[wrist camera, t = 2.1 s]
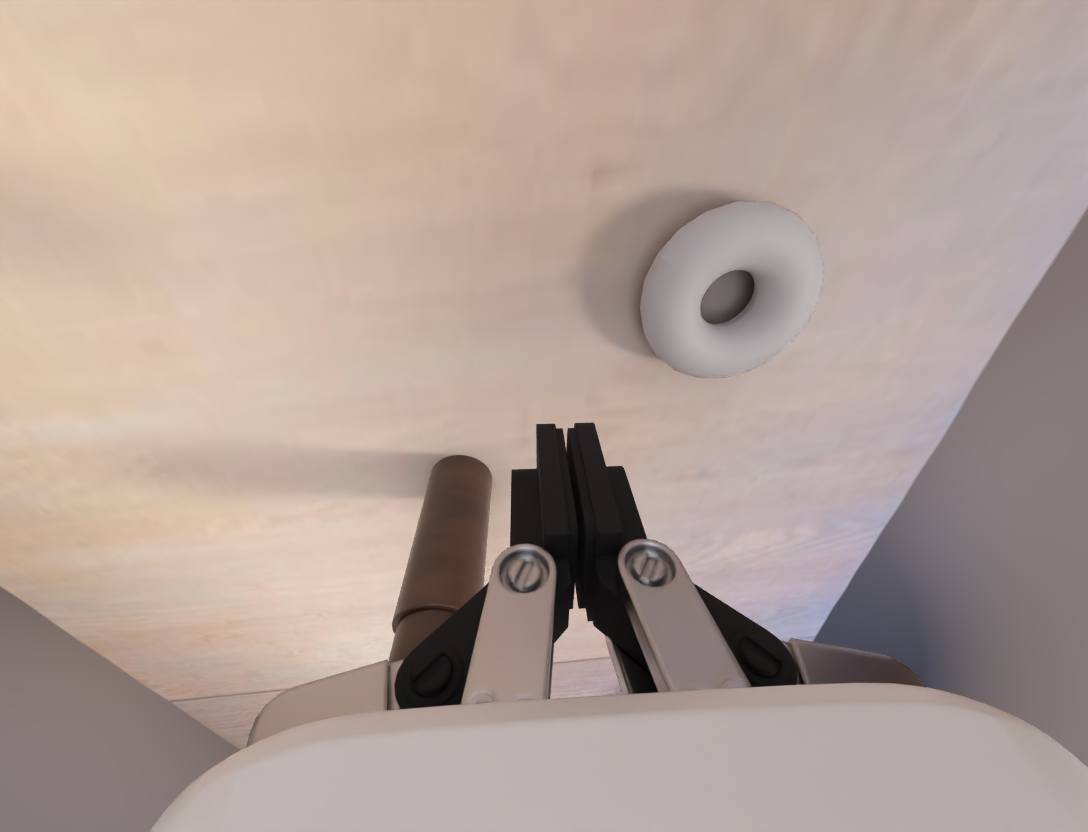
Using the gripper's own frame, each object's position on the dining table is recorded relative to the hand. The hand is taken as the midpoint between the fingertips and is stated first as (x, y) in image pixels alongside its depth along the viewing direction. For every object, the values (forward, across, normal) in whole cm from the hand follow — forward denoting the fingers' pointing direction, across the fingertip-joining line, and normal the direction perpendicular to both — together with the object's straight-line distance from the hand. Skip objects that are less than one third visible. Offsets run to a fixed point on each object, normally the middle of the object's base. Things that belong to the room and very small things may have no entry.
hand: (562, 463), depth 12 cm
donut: (+15, -11, -1) cm, 19 cm away
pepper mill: (+15, +6, +14) cm, 22 cm away
